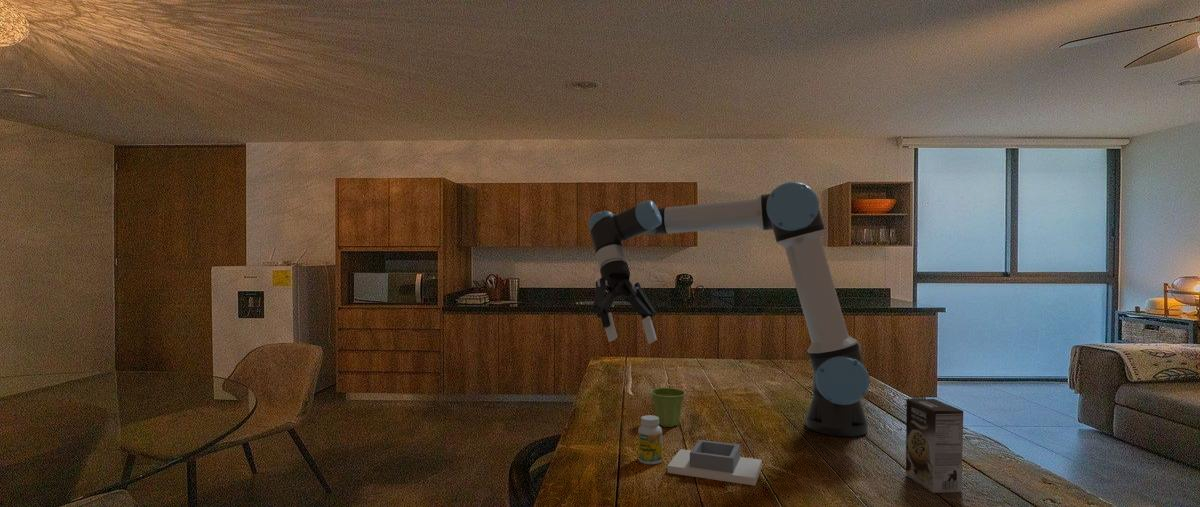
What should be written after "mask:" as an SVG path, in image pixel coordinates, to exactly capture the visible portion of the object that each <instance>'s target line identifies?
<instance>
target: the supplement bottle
mask: <svg viewBox="0 0 1200 507" xmlns="http://www.w3.org/2000/svg"><path fill="white" fill-rule="evenodd" d="M637 455H638V456H637V459H638V461H639V463H642V464H645V465H658V464H660V463H661V462H662V461H663V429H662V426H661V425H660V424H659V417H657V416H655V415H651V414H650V415H649V414H648V415H643V416H641V418H640V426H639V427H638V429H637Z"/></svg>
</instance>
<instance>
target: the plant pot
mask: <svg viewBox="0 0 1200 507" xmlns="http://www.w3.org/2000/svg"><path fill="white" fill-rule="evenodd" d="M650 394H651V397H652V399H653V406H654V407H653V408H654V412H655V413H654V416H657V417H659V426H660V427H665V428H668V427H669V428H673V427H675V426H676V427H677V426H678V427H679V425H680V421H681V420H680V419H681V413H682V406H683V401H684V398H685V396H686V395H687V394H686V391H685V390H683V389H679V388H675V387H658V388H657V387H656V388H653V389H651V390H650Z"/></svg>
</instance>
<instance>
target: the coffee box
mask: <svg viewBox="0 0 1200 507" xmlns="http://www.w3.org/2000/svg"><path fill="white" fill-rule="evenodd" d="M905 400H906V403H905V404H906V406H905V407H906V409H905V410H906V413H905V416H906V422H905V425H906V429H905V432H906V434H905V438H906V439H905V444H906V446H905V475H906V477H908V478H910V479H911V480H913V481H914V482H915V483H917V484H919V485H921V487H923V488H925V489H926V490H928V491H929V492H930V493H933V494H934V493H937V494H938V493H939V494H941V493H942V494H943V493H962V491H963V490H962V484H963V482H962V481H963V477H962V476H963V451H964V450H963V445H964V444H963V441H964V410H962V409H960V408H957V407H954V406H953V405H949V404H947V403H946V402H943V401H941V400H938V399H936V398H919V397H918V398H906V399H905Z"/></svg>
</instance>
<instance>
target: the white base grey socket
mask: <svg viewBox="0 0 1200 507" xmlns="http://www.w3.org/2000/svg"><path fill="white" fill-rule="evenodd" d="M762 467H763V460H762V459H758V458H751V457H743V456H741V444H736V443H728V442H720V441H714V440H713V441H711V440H705V439H698V440H697V442H696V443H695V445H694V446H693V447H692V449H691V450H689V449H683V448H680V449H679V450H678V451H677V453H676V454H675V455H674V457H673V458H672V460H670V462H669V463H668V464H667V473H668V474H674V475H679V476H687V477H695V478H701V479H707V480H715V481H721V482H726V483H727V482H728V483H733V484H734V483H736V484H740V485H741V484H742V485H749V486H753V487H755V486H756V484H757V483H758V482H757V481H758V479H759V476H760V473H761V470H762Z"/></svg>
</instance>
